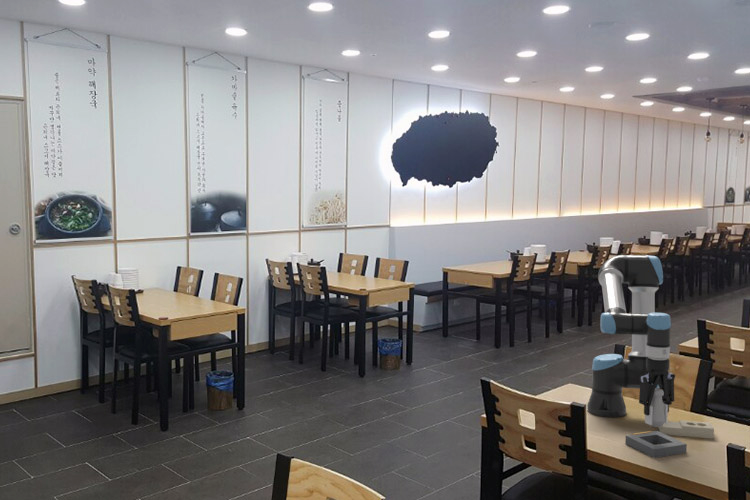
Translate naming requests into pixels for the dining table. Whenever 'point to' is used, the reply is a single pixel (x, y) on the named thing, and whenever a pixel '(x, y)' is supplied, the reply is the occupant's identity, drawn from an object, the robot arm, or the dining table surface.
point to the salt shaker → (658, 408)
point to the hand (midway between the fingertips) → (656, 422)
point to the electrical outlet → (688, 429)
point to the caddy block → (663, 449)
